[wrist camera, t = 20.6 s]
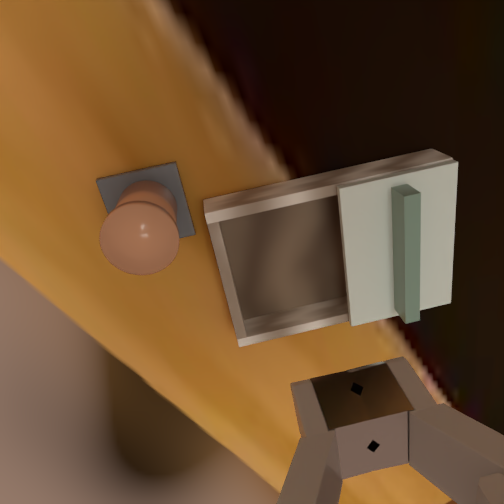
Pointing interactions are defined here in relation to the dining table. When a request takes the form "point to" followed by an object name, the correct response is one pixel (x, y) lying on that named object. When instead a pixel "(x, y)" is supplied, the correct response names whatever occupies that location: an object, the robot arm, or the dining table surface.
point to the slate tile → (161, 173)
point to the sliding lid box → (290, 249)
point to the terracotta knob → (141, 229)
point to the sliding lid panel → (398, 242)
